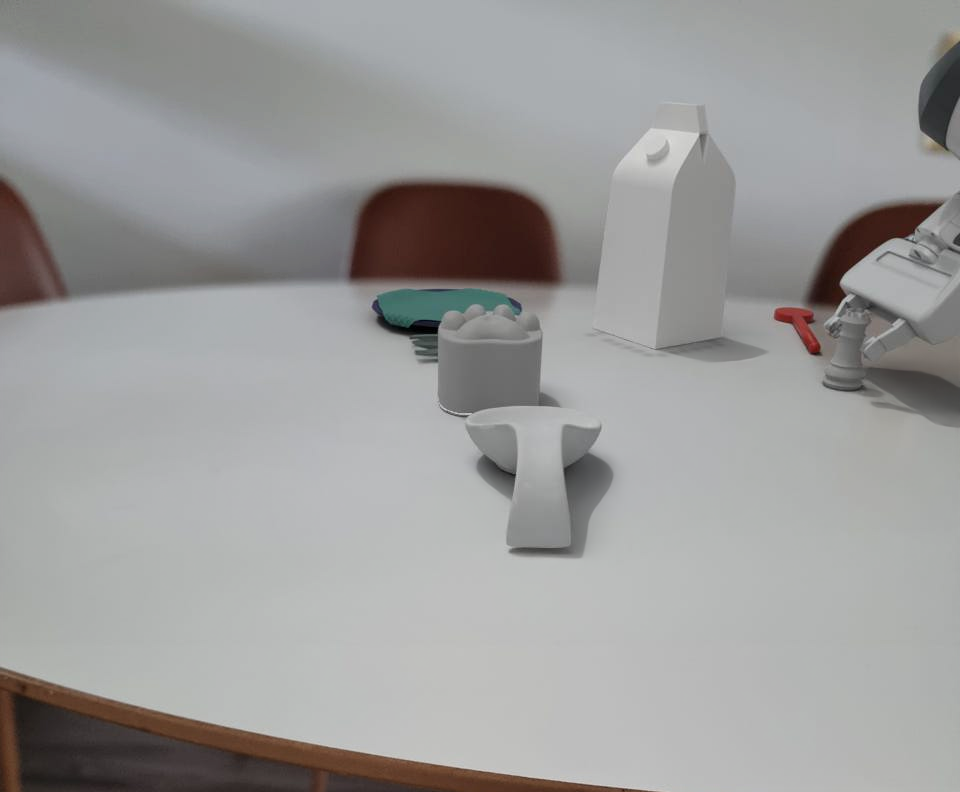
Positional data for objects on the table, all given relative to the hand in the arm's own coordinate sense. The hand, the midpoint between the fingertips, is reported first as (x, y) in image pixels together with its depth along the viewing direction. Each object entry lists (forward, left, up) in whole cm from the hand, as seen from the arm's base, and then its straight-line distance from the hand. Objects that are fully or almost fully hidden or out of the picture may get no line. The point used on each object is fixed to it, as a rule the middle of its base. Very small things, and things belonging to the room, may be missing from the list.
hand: (846, 344), depth 105 cm
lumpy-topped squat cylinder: (+37, +12, -5) cm, 39 cm away
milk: (+19, -19, -5) cm, 28 cm away
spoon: (0, -23, -5) cm, 24 cm away
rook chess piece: (-1, 0, -5) cm, 5 cm away
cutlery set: (+45, -15, -5) cm, 48 cm away
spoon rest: (+31, +36, -5) cm, 47 cm away
